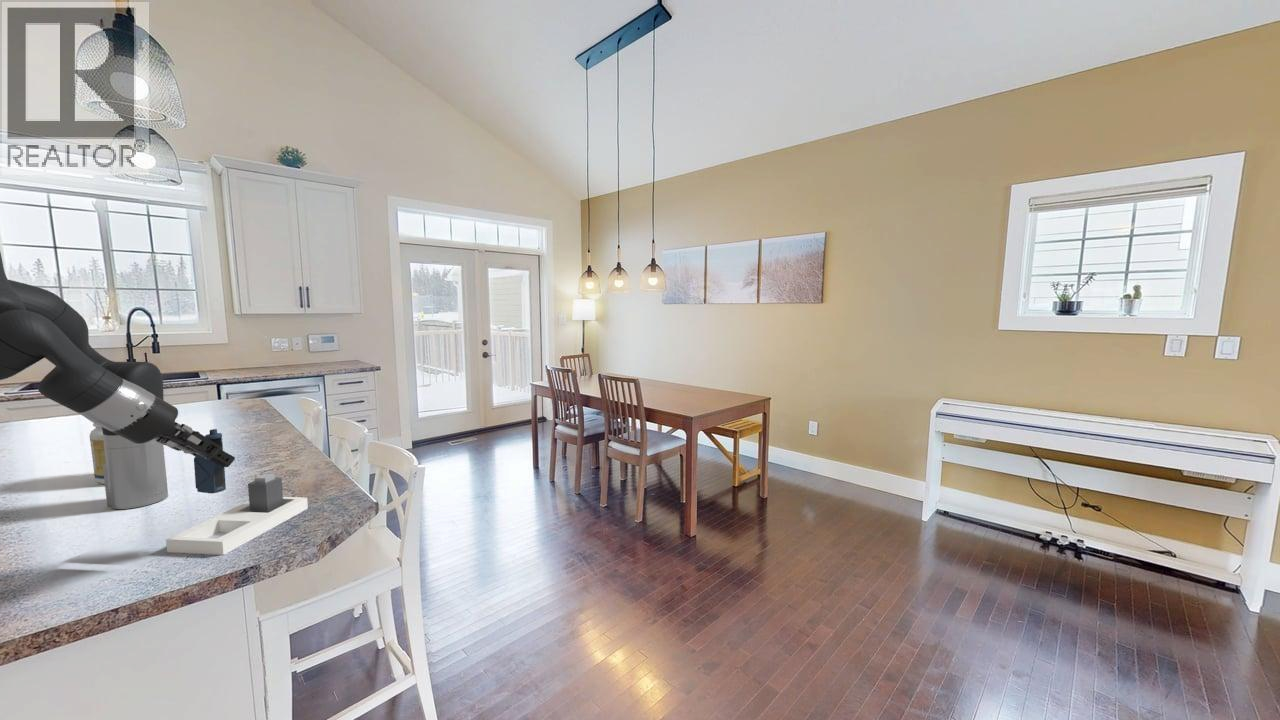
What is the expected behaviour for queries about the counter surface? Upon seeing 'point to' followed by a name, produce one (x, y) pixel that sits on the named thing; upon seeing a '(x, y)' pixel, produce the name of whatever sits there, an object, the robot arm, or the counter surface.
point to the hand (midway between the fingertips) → (221, 460)
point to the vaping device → (209, 469)
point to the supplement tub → (98, 453)
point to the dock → (233, 528)
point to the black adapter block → (265, 493)
